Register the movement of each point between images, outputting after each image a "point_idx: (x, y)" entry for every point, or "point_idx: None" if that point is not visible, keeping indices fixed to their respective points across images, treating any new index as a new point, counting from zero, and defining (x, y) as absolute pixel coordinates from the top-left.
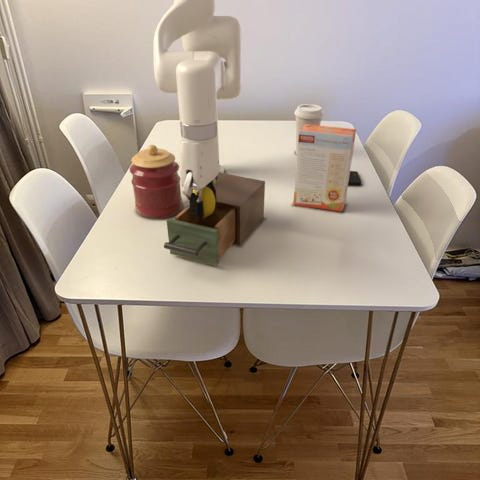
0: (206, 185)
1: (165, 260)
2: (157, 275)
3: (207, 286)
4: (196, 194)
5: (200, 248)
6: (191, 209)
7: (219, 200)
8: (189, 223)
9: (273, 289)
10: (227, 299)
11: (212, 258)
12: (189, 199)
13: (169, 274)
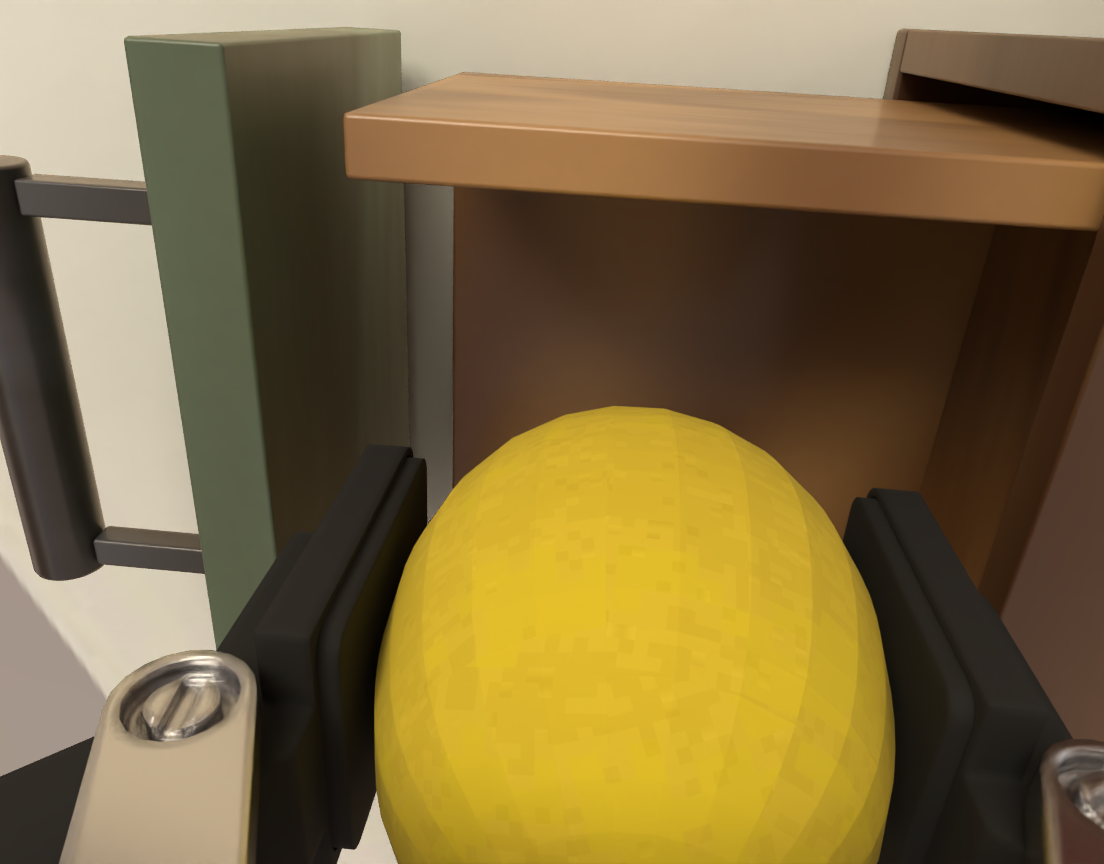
0: (1006, 854)
1: (279, 2)
2: (26, 64)
3: (149, 522)
4: (406, 801)
5: (156, 564)
6: (271, 573)
7: (1042, 673)
8: (247, 455)
9: (342, 855)
10: (106, 673)
11: None
12: (73, 760)
13: (105, 171)
